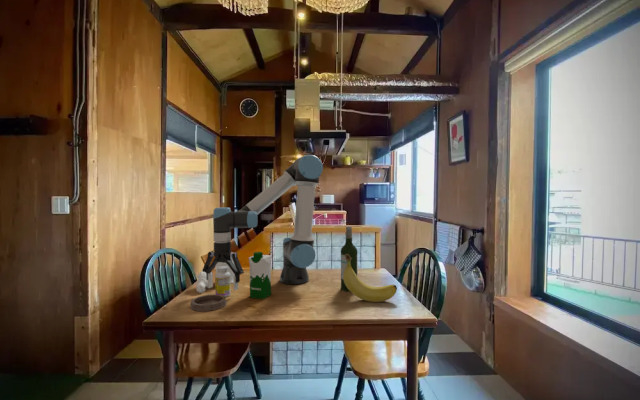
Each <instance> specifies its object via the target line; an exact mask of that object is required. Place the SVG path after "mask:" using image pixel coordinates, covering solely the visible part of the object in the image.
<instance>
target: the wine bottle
mask: <svg viewBox="0 0 640 400" xmlns="http://www.w3.org/2000/svg"><path fill="white" fill-rule="evenodd" d="M352 231H353V227H352V226H345V244H344V245H343V246H342V247H341V249H340V288H341V290H342V291H344V292H350V293H352V292H351V291H350V290H349V289H348V288H347V287H346V285H345V283H344V280H343V274H344V270H345V269H346V267H347V260H346V257H345V254H349V256H350V257H351V258H352V259H351V261H350V264H351V267H352V269H353V271H354V272H355V274H356V275H357V276H358V248H357V247H356V246H355V245H354V244H353V234H352V233H353V232H352Z"/></svg>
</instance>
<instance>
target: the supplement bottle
mask: <svg viewBox="0 0 640 400" xmlns="http://www.w3.org/2000/svg"><path fill="white" fill-rule="evenodd" d="M217 271H218V273H216V272H215V276H214V277H215V278H214V280H215V281H214V282H215V283H214V284H215V285H214V287H215V288H214V289H215V290H214V291H215V294H216V295H223V296H225V297H226V298H227V297H230V295H231V291H232V289H231V288H232V287H231V286H232V285H231V284H232V283H231V284H230V273H229V272H228V267H227V266H221V267H218V268H217Z"/></svg>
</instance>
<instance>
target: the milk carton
mask: <svg viewBox="0 0 640 400" xmlns="http://www.w3.org/2000/svg"><path fill="white" fill-rule="evenodd" d="M272 256H273V255H269V254H264V253H263V252H262V251H254V252H253V255H252V256H250V257H248V263H249V298H251V299H258V300H259V299H260V300H265V299H266V298H268V297H270V296H271V295H272V280H271V279H272V273H271V272H272V269H271V268H272V267H271V266H272Z"/></svg>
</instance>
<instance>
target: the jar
mask: <svg viewBox="0 0 640 400" xmlns="http://www.w3.org/2000/svg"><path fill="white" fill-rule="evenodd" d="M231 253H234V252H232V251H231ZM230 258H231V257H230ZM231 259H232V258H231ZM228 261H229V260H228ZM232 262H233V259H232ZM233 263H234V262H233ZM234 265H235V264H234ZM221 266H227V267H228V272H229V273H230V284H233V276H234V275H235V274H234V273H233V271H232V270H231V269H230V267H229V266H228V264H226V263H223V262H218V263H217V264H216V266H215V267H214V269H215V274H216V273H218V271H217V268H218V267H221Z"/></svg>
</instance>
